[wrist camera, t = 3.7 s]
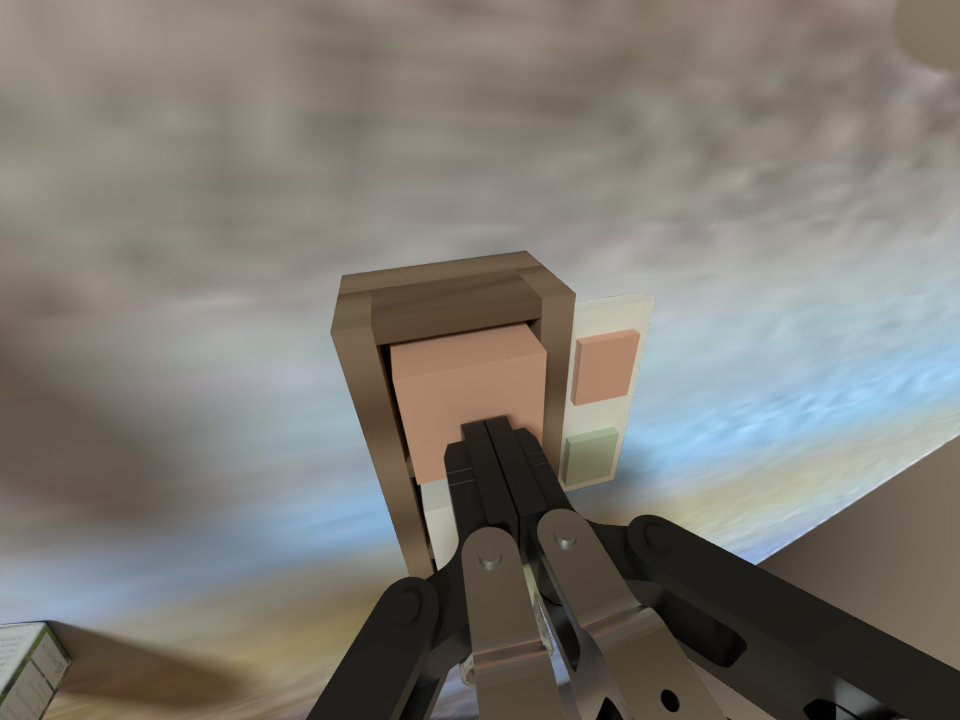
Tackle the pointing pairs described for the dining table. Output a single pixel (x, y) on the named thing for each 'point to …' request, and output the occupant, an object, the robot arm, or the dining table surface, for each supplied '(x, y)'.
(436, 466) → the terracotta key
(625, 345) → the card
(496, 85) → the dining table surface
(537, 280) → the brown wooden frame
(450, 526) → the grey key
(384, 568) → the dining table surface
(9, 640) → the syrup box
